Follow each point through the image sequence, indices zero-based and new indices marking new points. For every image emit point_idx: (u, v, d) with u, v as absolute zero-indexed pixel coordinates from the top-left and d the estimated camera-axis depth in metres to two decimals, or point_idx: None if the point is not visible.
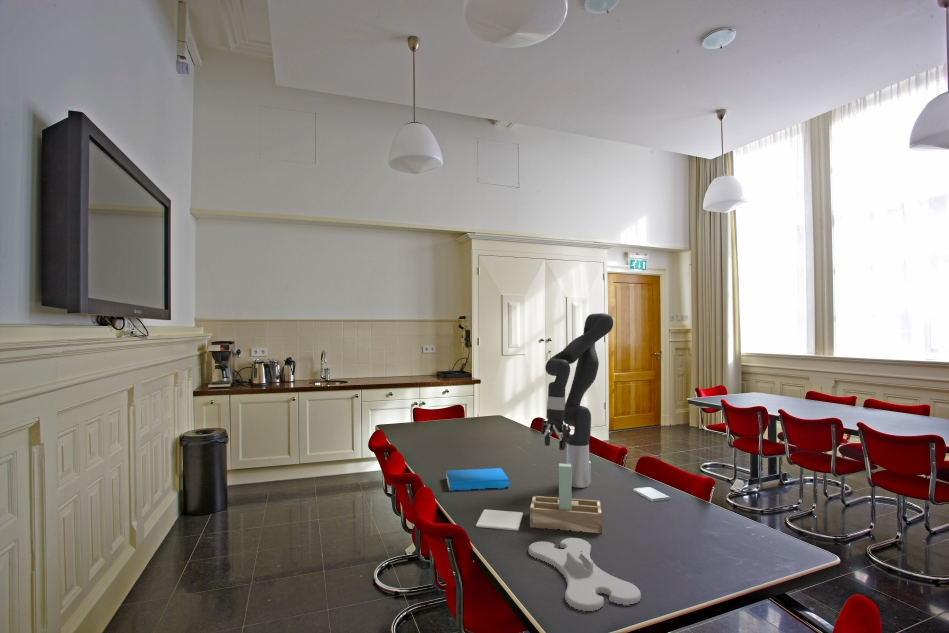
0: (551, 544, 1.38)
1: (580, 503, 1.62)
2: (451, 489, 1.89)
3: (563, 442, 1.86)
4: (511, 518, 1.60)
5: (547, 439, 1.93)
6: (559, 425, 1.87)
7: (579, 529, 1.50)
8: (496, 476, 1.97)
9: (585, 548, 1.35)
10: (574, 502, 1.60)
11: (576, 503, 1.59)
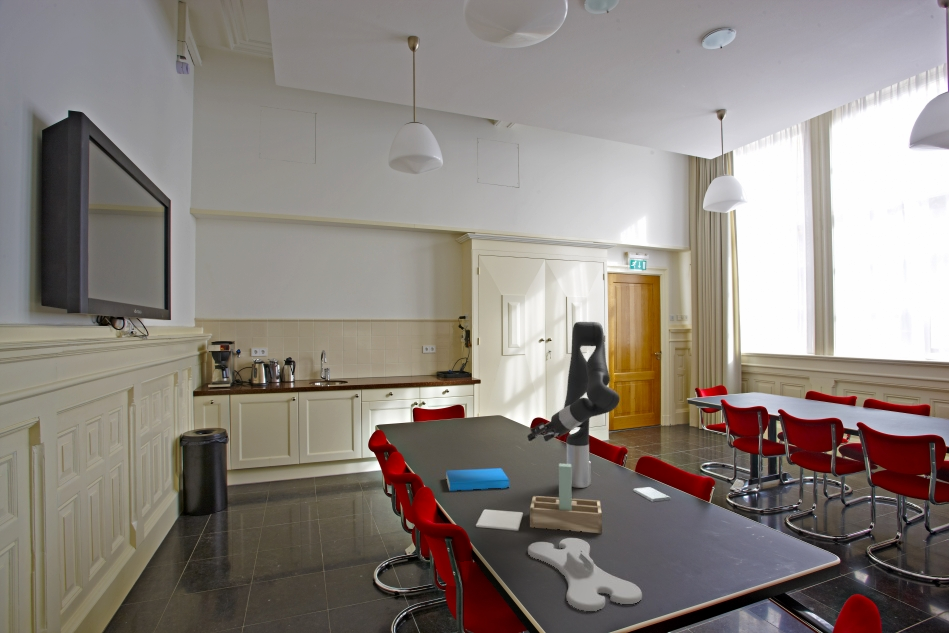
0: (551, 544, 1.38)
1: (580, 503, 1.62)
2: (451, 489, 1.89)
3: None
4: (511, 518, 1.60)
5: None
6: None
7: (579, 529, 1.50)
8: (496, 476, 1.97)
9: (584, 548, 1.35)
10: (572, 502, 1.60)
11: (574, 503, 1.59)
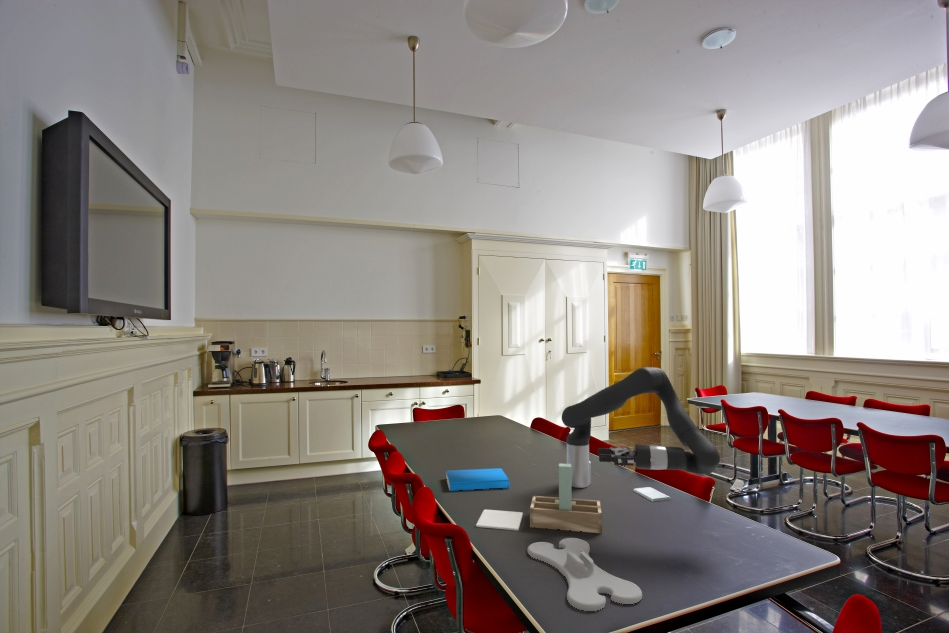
0: (550, 545, 1.38)
1: (580, 503, 1.62)
2: (451, 489, 1.89)
3: None
4: (511, 518, 1.60)
5: None
6: None
7: (579, 529, 1.50)
8: (496, 476, 1.97)
9: (584, 548, 1.35)
10: None
11: (573, 503, 1.59)
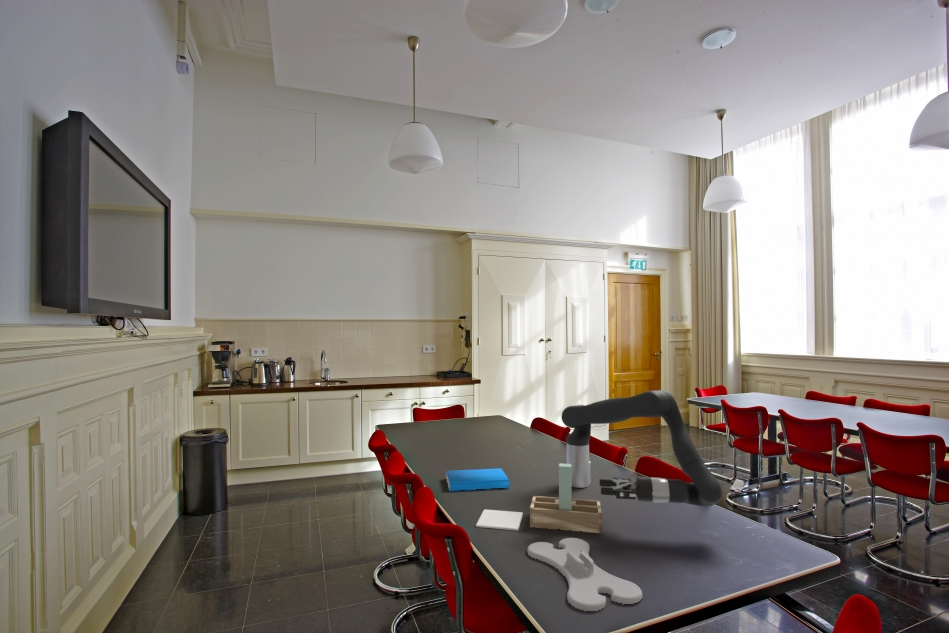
0: (550, 545, 1.38)
1: (580, 503, 1.62)
2: (451, 489, 1.89)
3: None
4: (511, 518, 1.60)
5: None
6: None
7: (579, 529, 1.50)
8: (496, 476, 1.96)
9: (584, 548, 1.35)
10: None
11: (573, 503, 1.59)
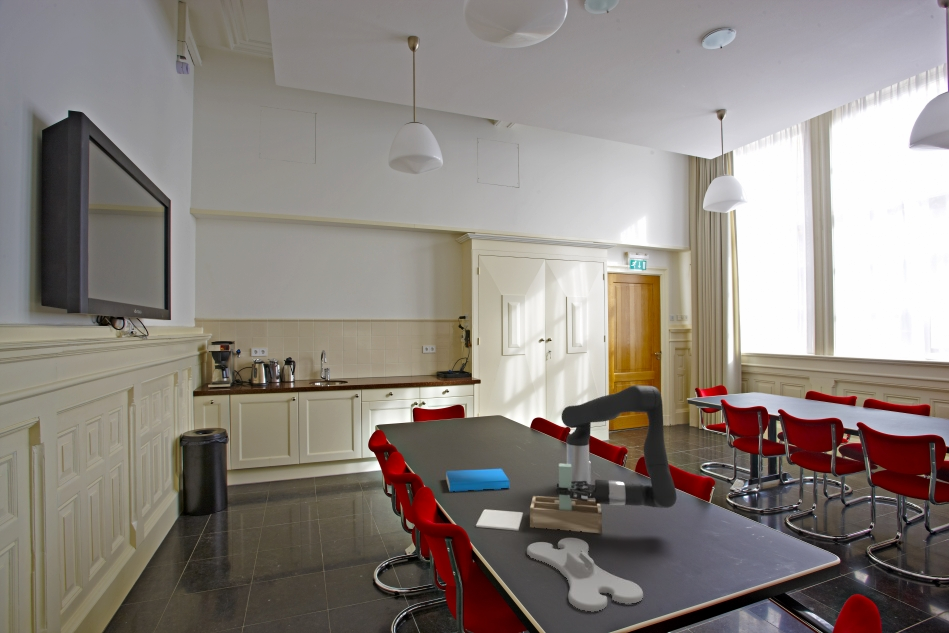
0: (549, 545, 1.37)
1: (580, 503, 1.62)
2: (451, 490, 1.88)
3: None
4: (511, 518, 1.60)
5: None
6: None
7: (579, 529, 1.50)
8: (496, 477, 1.96)
9: (583, 547, 1.35)
10: None
11: (573, 503, 1.59)
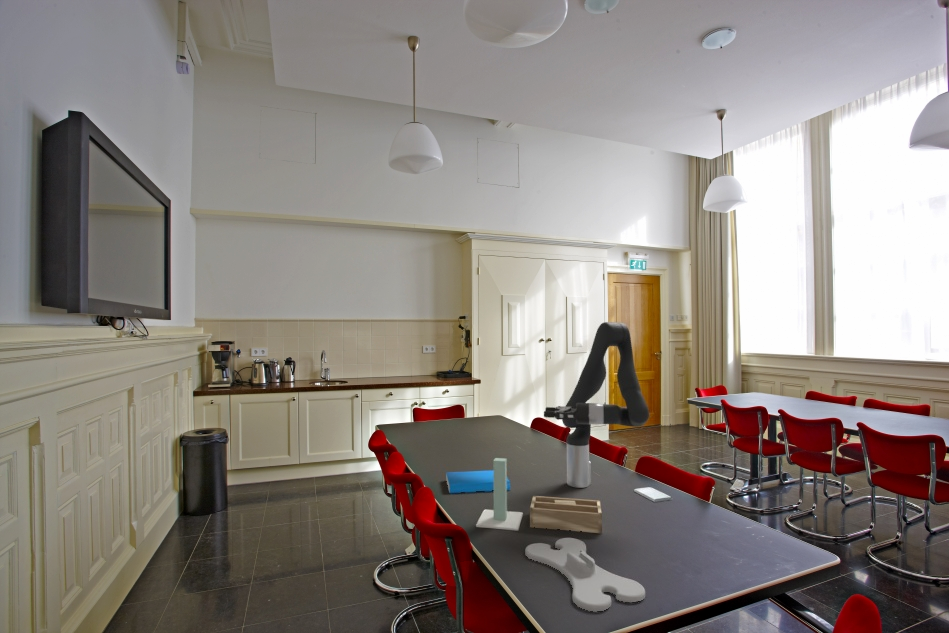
0: (547, 545, 1.37)
1: (580, 503, 1.62)
2: (451, 491, 1.86)
3: None
4: (511, 518, 1.60)
5: None
6: None
7: (579, 529, 1.50)
8: None
9: (581, 547, 1.36)
10: (571, 502, 1.61)
11: (573, 502, 1.60)
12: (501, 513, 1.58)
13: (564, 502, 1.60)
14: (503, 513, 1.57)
